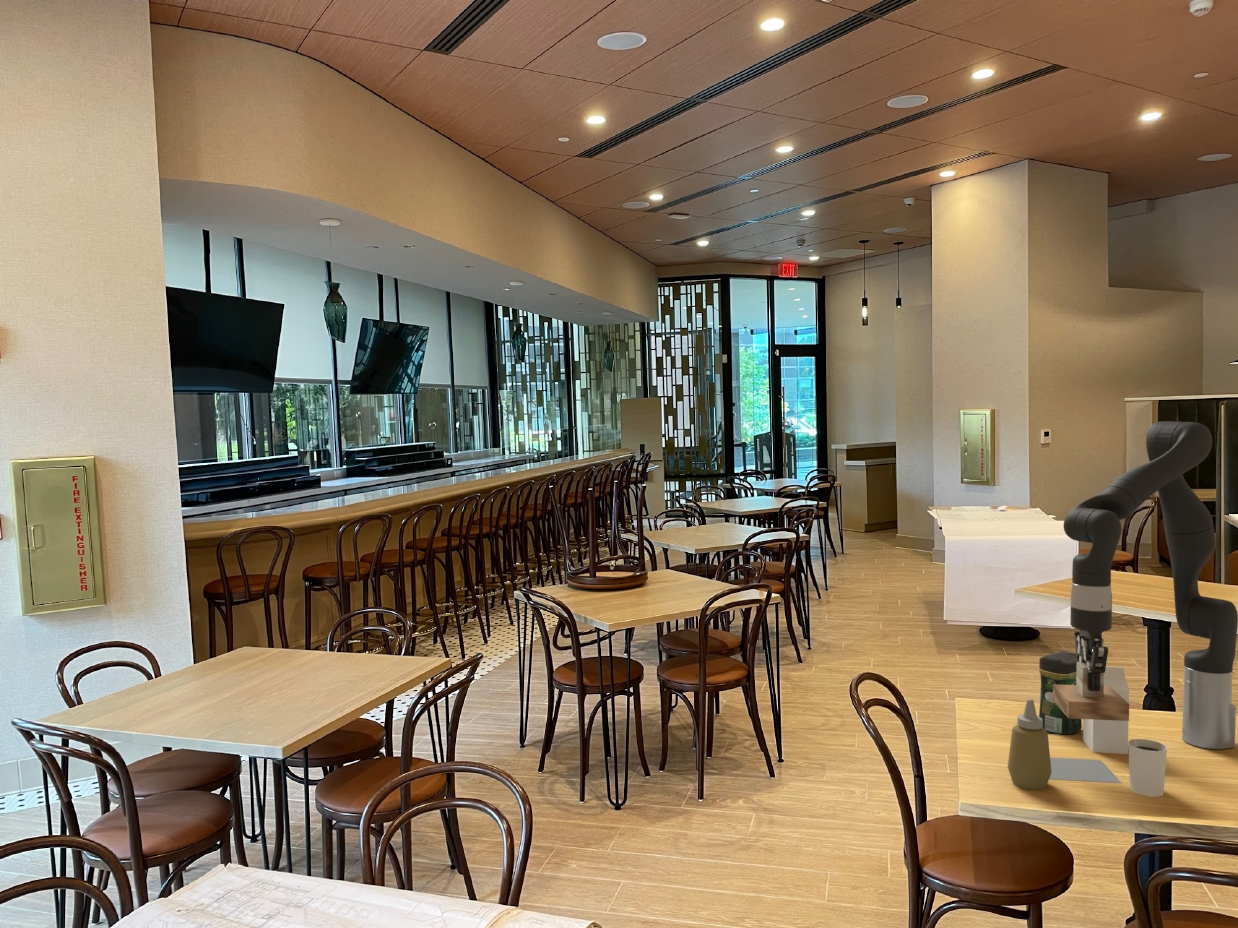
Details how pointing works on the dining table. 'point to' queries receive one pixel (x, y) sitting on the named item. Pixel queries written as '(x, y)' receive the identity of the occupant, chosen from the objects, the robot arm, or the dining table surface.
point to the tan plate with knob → (1090, 699)
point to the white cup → (1147, 767)
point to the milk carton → (1109, 732)
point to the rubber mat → (1081, 770)
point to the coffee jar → (1052, 671)
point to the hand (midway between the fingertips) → (1090, 686)
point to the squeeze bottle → (1029, 751)
